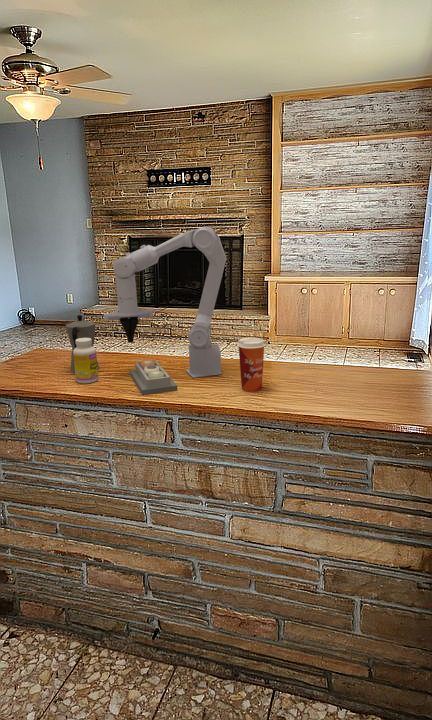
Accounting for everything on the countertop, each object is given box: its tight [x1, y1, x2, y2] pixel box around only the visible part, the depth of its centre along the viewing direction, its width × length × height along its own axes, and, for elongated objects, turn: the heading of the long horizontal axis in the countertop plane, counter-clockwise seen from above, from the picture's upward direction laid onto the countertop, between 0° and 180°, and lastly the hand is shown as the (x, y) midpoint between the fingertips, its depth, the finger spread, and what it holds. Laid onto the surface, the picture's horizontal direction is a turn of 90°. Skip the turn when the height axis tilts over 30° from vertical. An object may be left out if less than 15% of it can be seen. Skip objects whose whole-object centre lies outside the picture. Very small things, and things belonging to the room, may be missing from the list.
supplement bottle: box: [73, 338, 99, 384], centre depth 154 cm, size 7×7×13 cm
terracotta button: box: [139, 359, 155, 367], centre depth 157 cm, size 4×4×3 cm
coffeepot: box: [65, 314, 100, 374], centre depth 163 cm, size 15×9×18 cm, turn 1°
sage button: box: [148, 371, 164, 379], centre depth 146 cm, size 4×4×3 cm
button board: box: [129, 359, 178, 396], centre depth 152 cm, size 10×20×4 cm, turn 19°
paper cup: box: [237, 336, 266, 393], centre depth 143 cm, size 8×8×14 cm
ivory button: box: [144, 365, 159, 373], centre depth 151 cm, size 4×4×3 cm
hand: (130, 341), depth 158 cm, fingers closed
